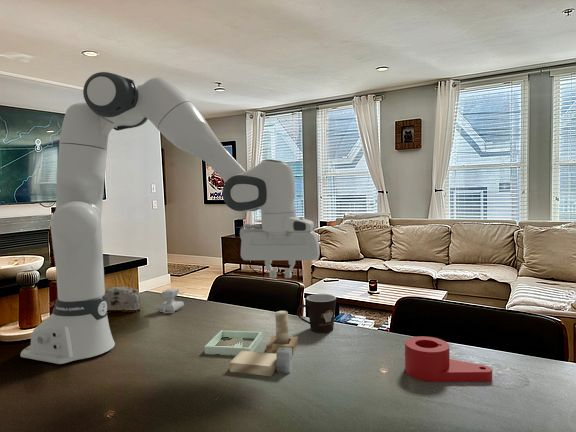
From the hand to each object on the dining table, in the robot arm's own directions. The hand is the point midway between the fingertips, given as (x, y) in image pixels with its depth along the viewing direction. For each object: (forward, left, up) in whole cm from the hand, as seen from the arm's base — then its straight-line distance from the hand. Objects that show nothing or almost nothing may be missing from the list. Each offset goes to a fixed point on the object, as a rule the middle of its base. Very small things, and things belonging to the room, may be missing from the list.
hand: (280, 277), depth 107 cm
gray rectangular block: (+3, -12, -19) cm, 23 cm away
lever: (+39, -9, -20) cm, 45 cm away
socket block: (0, 0, -19) cm, 19 cm away
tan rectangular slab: (-4, -12, -20) cm, 23 cm away
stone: (-63, +25, -20) cm, 71 cm away
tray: (-13, 0, -19) cm, 23 cm away
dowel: (0, 0, -19) cm, 19 cm away
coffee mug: (+7, +15, -19) cm, 26 cm away
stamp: (-45, +27, -20) cm, 56 cm away
